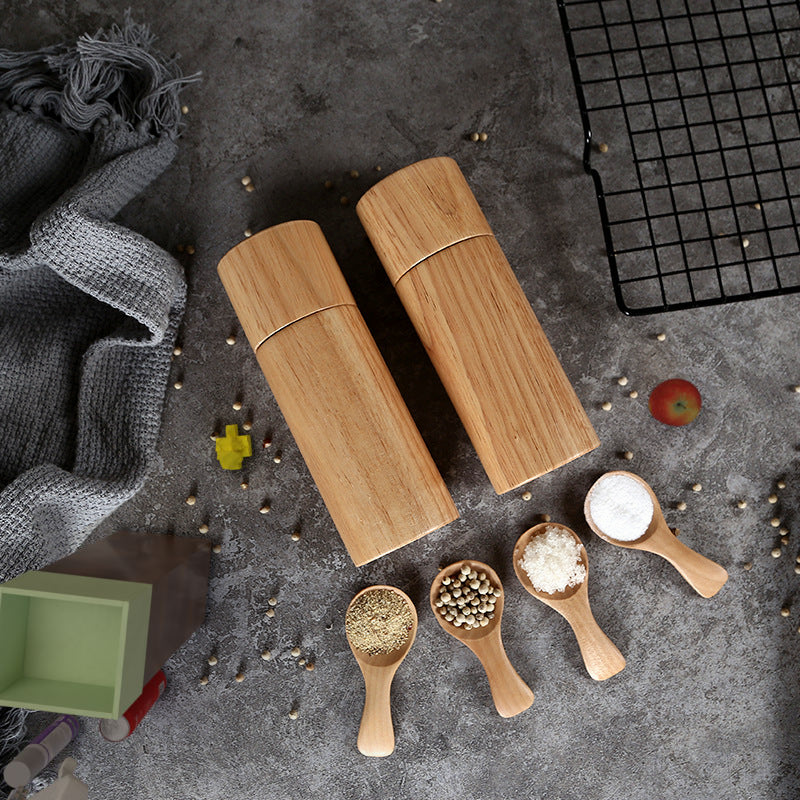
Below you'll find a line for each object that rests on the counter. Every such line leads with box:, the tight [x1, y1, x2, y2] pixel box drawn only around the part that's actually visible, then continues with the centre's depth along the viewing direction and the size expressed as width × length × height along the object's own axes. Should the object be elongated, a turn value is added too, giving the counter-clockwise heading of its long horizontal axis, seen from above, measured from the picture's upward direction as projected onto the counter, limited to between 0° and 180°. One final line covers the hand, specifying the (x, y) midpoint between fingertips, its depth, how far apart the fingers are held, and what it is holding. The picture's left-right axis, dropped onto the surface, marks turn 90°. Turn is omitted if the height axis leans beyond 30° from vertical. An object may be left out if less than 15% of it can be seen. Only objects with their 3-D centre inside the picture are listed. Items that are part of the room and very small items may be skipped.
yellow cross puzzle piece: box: [215, 423, 253, 471], centre depth 112 cm, size 6×8×8 cm
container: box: [3, 713, 81, 789], centre depth 111 cm, size 5×5×15 cm
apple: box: [647, 377, 703, 427], centre depth 109 cm, size 8×8×10 cm
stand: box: [36, 529, 213, 687], centre depth 104 cm, size 17×15×27 cm
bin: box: [0, 569, 152, 720], centre depth 87 cm, size 18×16×7 cm
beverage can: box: [98, 669, 168, 744], centre depth 110 cm, size 6×6×15 cm
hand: (45, 775), depth 88 cm, fingers open, 8 cm apart
